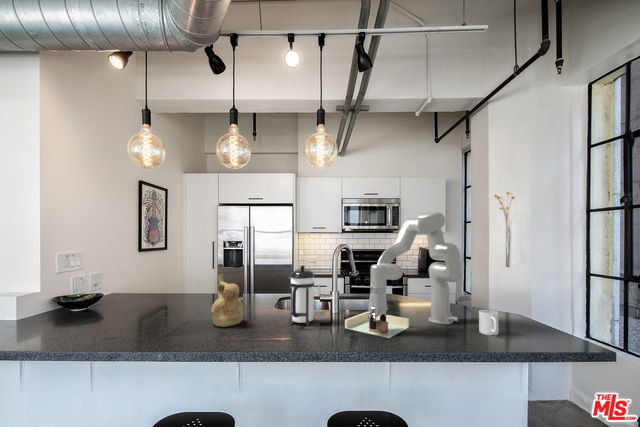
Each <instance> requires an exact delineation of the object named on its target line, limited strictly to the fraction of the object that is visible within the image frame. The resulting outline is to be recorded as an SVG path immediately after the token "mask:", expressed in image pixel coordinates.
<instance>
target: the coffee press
mask: <svg viewBox="0 0 640 427" xmlns="http://www.w3.org/2000/svg"><path fill="white" fill-rule="evenodd" d="M314 279H315V274H314V272H313V271H311V270H308V269H306V268H305V266H304V265H300V269H298V270H294V271H292V272H291V273H290V319H289V321H288V325H290V326H291V325H293V324H294V323H300V324H301V323H303V324H305V326H306V327H309V326H310V322H316V318H315V317H314V313H315V312H314V309H315V306H314V304H315V303H314V301H315V300H314V299H315V298H314V297H315V296H314V293H315V290H314V289H315V287H314V286H315V280H314Z"/></svg>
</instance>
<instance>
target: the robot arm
mask: <svg viewBox="0 0 640 427" xmlns="http://www.w3.org/2000/svg"><path fill="white" fill-rule="evenodd" d="M445 223H446V216H445V215H444V214H443V213H442V212H439V211H435V212H420V213H417V214H415V216H414V217H410V218H406V219H405V220H403V222H402V224H401V227H400V229H399V230H398V232H397V236H396V237H395V240H394V241H393V243H392V244H391V245H390V246H388V247H387V248H386V249H384V251H383V252H382V254H381V255H380V257H379V259H378V261H377V264H372V265H371V266H370V290H369V291H370V293H369V298H368V299H369V300H368V310H367V312H368V317H369V320H370V329H374V330H376V321H375V320H376V317H377V316H379V315H381V316H380V320H381V321H386V316H387V315H388V314H387V313H388V305H387V280H393V281H396V280H399V279H401V278H402V277H403V272H404V271H403V268H402V266H400V265H398V264H395V263H392V262H393V261H394V260H395V259H396V258H397V257H399V256H401V255H403V254H405V253H408V252H409V251H410V250H411V248H412V245H413V243H414V241H415V239H416V236H418V235H419V236H423V235H424V236H425V235H426V240H427V246H428V253H429V257H430V258H431V259H432V260H435V262H432V263H430V265H429V267H428V275H429V280H430V281H429V282H430V316H429V317H428V318H427V321H428V322H430V323H432V324H436V325H451V324H453V323H454V322H458V321H459V317H457V316H455V315H454V316H453V315H452V312H451V311H450V310H451V306H450V305H451V304H450V302H451V300H450V299H451V297H450V295H451V294H450V293H451V292H450V291H451V289H450V286H449V283H458V282H459V281H460V280H461V278H462V274H463V271H462V263H461V254H460V250H459V247H458V246H457V245H456V244H454V243H451V242H446V241H445V237H444V232H443V230H442V228H443V227H444V226H445ZM442 261H444V262H442ZM448 282H449V283H448ZM373 316H374V317H373Z"/></svg>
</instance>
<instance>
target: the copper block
mask: <svg viewBox="0 0 640 427" xmlns="http://www.w3.org/2000/svg"><path fill="white" fill-rule="evenodd" d="M375 321H376V330H374V329H370V321H369V331H370V332H375V333H379V334H386V333H388V322H386V321H381V320H375Z"/></svg>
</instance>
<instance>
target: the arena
mask: <svg viewBox="0 0 640 427" xmlns="http://www.w3.org/2000/svg"><path fill="white" fill-rule="evenodd" d="M380 316H381V315H379V316H377V317H376V320H380ZM373 317H374V316H373ZM369 321H370V320H369V317H368V311H365V312H362V313H359V314H356V315H354V316H352V317H349V318H346V319H344V329H347V330H353V331H355V332H360V333H363V334H369V335H370V334H371V335H373V336H378V337H383V338H387V339H390V338H392V337H393V336H395V335H397V334H399V333H401V332H403V331H405V330H407V329H408V328H410V318H407V317H401V316H395V315H391V314H389V315H388V314H387V316H386V322H388V333H386V334H379V333H375V332H370V331H369Z"/></svg>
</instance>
